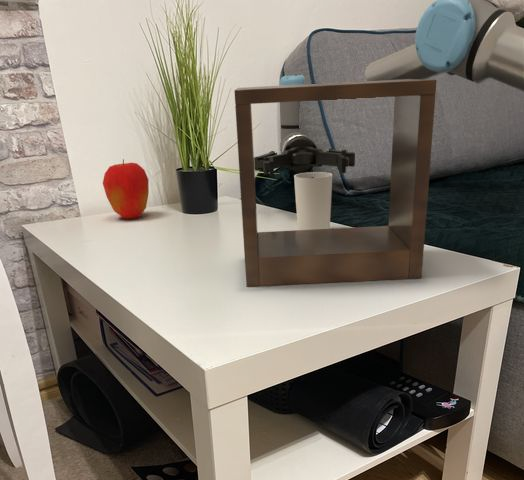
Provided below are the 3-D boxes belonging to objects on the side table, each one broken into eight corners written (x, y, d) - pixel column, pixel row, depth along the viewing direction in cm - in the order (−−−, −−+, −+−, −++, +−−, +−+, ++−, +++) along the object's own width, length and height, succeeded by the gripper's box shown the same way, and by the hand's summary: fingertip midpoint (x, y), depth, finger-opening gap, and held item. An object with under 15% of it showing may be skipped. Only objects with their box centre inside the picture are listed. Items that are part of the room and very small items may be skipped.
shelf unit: (398, 250, 91) (408, 79, 81) (421, 278, 79) (436, 79, 68) (247, 257, 91) (237, 87, 81) (246, 286, 79) (234, 90, 68)
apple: (146, 210, 128) (139, 154, 123) (158, 218, 121) (150, 158, 115) (105, 216, 125) (95, 158, 119) (113, 224, 117) (104, 163, 112)
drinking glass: (287, 232, 105) (286, 175, 101) (316, 225, 108) (316, 170, 104) (310, 238, 100) (309, 179, 96) (339, 232, 103) (340, 174, 99)
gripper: (355, 168, 129) (373, 184, 110) (244, 173, 129) (243, 190, 110) (356, 132, 126) (374, 143, 107) (242, 138, 126) (240, 149, 107)
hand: (307, 167), depth 108 cm, fingers open, 13 cm apart
